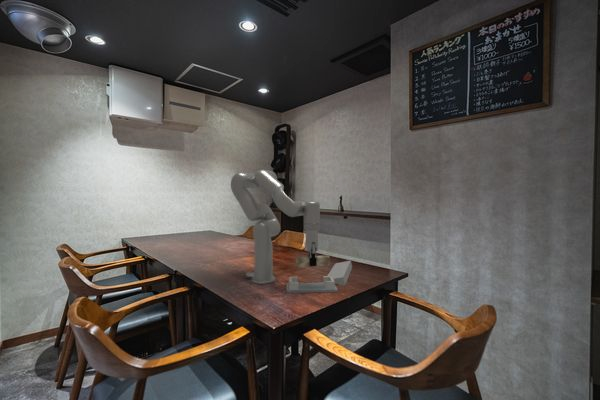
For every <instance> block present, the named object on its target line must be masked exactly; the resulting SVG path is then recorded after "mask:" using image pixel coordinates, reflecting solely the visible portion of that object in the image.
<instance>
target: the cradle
mask: <svg viewBox="0 0 600 400" xmlns="http://www.w3.org/2000/svg"><path fill="white" fill-rule="evenodd" d="M298 279H299V277H298V276H289V277H288V283H287V282H286V286H285V288H286V293H288V294H289V293H294V294H295V293H297V294H298V293H301V294H302V293H338V292H339V290H338V287H337V286H336V284H335V281H334V280H333V278H332V276H328V275H326V276H325V275H324V276H322V282H299V280H298Z"/></svg>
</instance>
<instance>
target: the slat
mask: <svg viewBox="0 0 600 400" xmlns="http://www.w3.org/2000/svg"><path fill="white" fill-rule="evenodd" d="M295 266H296V268H309V267H314V266H310V256H309V255H308V256H296V257H295ZM327 266H331V257H330V255H329V254H327V255H324V254H323V255H316V266H315V267H327Z"/></svg>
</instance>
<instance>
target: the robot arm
mask: <svg viewBox="0 0 600 400" xmlns="http://www.w3.org/2000/svg"><path fill="white" fill-rule="evenodd" d="M260 188H261V189H262V190H263V191H265V192H266V193H267V194H268V195H269V196H270V197H271V198H272V200H273V203H274V205H276V207H277V208H278V209H279V210H280V211H281V212H283V214H285V215H287V216H288V217H290V218H295V217H301V216H303V218H304V219H303V221H304V222H303V224H304V225H303V226H304V227H303V229H304V231H305V232H306V233H305V250H306V251H307V252H308V256H310V266H313V267H317V266H316V256H317V252H318V249H319V245H318V244H319V240H318V239H319V238H318V237H319V236H318V233H319V231H320V230H321V219H320V218H321V212H320V211H321V210H320V209H321V207H320V206H321V204H320V202H319V201H311V200H310V201H304V200H293V199H292V198H290V197H289V196H288V195H287V194H286V193H285V191H284V189H285V186H284V184H283V183H282V182H280V181H279V180H278V176H277V174H276V173H275V172H274V171H272V170H269V169H267V170H266V169H259V170H257V171H256V172H254V173H250V172H245V171H243V172H241V171H240V172H237V173H235V174H233V176H232V178H231V180H230V189H231V192H232V194H233V196H234V197H235V199H236V200H237V202H238V203H239V205H240V207H241V209H242V211H243V213H244V214H245V216H246V217H247V219H248V221H250V222H256V223H255V224H254V226H253V227H252V236H253V242H254V244H253V245H254V246H253V248H254V271H252V272H249V271H247V272H245V276H246V277H247V278H251V279H250V280H251V282H252V283H254V284H257V285H259V284H260V285H266V284H271V283H274V282H275V281H276V276H274V275H273V271H274V270H273V269H274V268H273V266H274V265H273V260H274V259H273V258H274V257H273V254H274V253H273V252H274V251H273V250H274V249H273V247H274V246H273V241H272V238H273V237H275V236H277V235H279V233H280V231H281V224H280V221H279V220H278V218H277V217H276V215H275V213H274V212H273V210H272V209H271V207H270V206H269V205H268V204H267V203H261V202H258V201H257V199H256V198H255V197H254V195H253V194H252V193H251V191H250V190H249V189H260Z"/></svg>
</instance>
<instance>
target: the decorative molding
mask: <svg viewBox="0 0 600 400" xmlns="http://www.w3.org/2000/svg"><path fill="white" fill-rule="evenodd" d="M352 269H353V264H352V261H351V260H346V261H342V262H336V263H334V264H333V266H332V267H331V270H330V271H329V272H328V274H327V276H332V278H333V280H334V281H335V285H338V286H343V287H345V286H346V284H347V282H348V280H349V277H350V275H351V272H352Z"/></svg>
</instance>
